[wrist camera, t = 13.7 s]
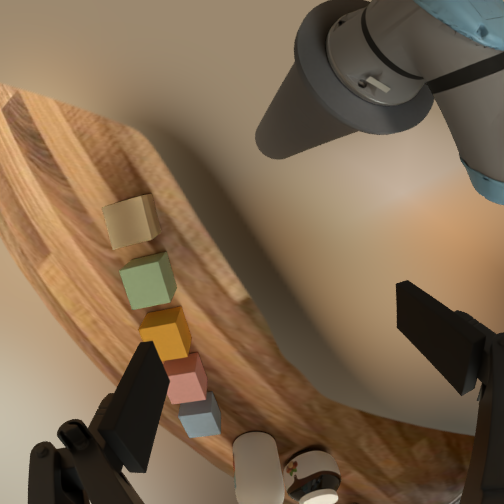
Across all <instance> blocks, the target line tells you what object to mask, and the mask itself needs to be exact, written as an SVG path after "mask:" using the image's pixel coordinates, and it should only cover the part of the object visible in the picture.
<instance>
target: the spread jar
mask: <svg viewBox="0 0 504 504" xmlns="http://www.w3.org/2000/svg"><path fill="white" fill-rule="evenodd" d="M283 477H284V483H285V488H286V491H287V493H288V495H289V496H290V497H291V498H292V499H294V500H296V501H298V502H299V504H334V503H336V502H337V500H338V496H337V493H336V491H337V489H338V488H339V486H340V483H341V474H340V471H339V468H338V466H337V463H336V461H335V459H334V458H333V457H332V456H331V455H330V454H329V453H327V452H325V451H322V450H318V449H309V450H304V451H301V452H299V453H297V454H295V455H294V456H293V457H292V458H291V459H290V460H289V461H288V462H287V464H286V466H285V468H284V472H283Z"/></svg>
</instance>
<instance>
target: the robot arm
mask: <svg viewBox="0 0 504 504" xmlns="http://www.w3.org/2000/svg"><path fill="white" fill-rule="evenodd" d="M325 52H326V57H327V61H328V64H329V66H330V68H331V70H332V72H333V73H334V75H335V76H336V78H337V79H338V80H339V82H340V83H341V84H342V85H343V86H344V87H345V88H346V89H347V90H348V91H349V92H351V93H352V94H353V95H355V96H356V97H358V98H359V99H361V100H363V101H365V102H367V103H370V104H373V105H376V106H382V107H391V106H397V105H400V104H402V103H405V102H407V101H409V100H411V99H412V98H414V97H415V96H416V94H417V93H418V92H419V90H420V89H421V87H422V86H423V85H424V84H425V82H426V83H427V85H428V87H429V88H430V90H431V92H432V94H433V96H434V98H435V100H436V102H437V104H438V106H439V108H440V110H441V112H442V114H443V116H444V118H445V120H446V122H447V125H448V127H449V129H450V131H451V134H452V136H453V139H454V141H455V143H456V146H457V148H458V151H459V155H460V160H461V162H462V163H463V165H464V166H465V168H466V170H467V172H468V175H469V177H470V180H471V182H472V184H473V186H474V188H475V189H476V191H477V192H478V193H479V194H481V195H482V196H484V197H485V198H486V199H488V200H489V201H492V202H495V203H497V204H501V205H504V2H503V0H372V1H371V2H370V4H369V5H368V6H367V7H365V8H362V9H359V10H356V11H354V12H351V13H348V14H346V15H343V16H342V17H340V18H339V19H338V20H337V21H336V22H335V23H334V24H333V26H332V27H331V29H330V30H329V32H328V34H327V37H326V41H325ZM396 300H397V328H398V329H399V330H400V331H401V332H402V333H403V334H404V335H405V336H406V337H407V338H408V339H409V340H410V341H411V343H412V344H413V345H414V346H415V347H416V348H417V349H418V350H419V351H420V352H421V353H422V354H423V355H424V356H425V357H426V358H427V359H428V360H429V361H430V362H431V363H432V365H433V366H434V367H435V368H436V369H437V370H438V371H439V372H440V373H441V374H442V375H443V376H444V377H445V379H447V381H448V382H449V383H450V384H451V385H452V386H453V387H454V388H455V389H456V391H457V392H458V393H459V394H460V395H461V396H462V395H464V394H466V393H468V392H469V391H471V390H473V389H474V388H475V385H476V381H477V378H478V379H479V380H480V381H481V382H482V385H481V388H480V392H479V395H478V398H477V401H479V410H478V419H477V426H476V433H475V439H474V445H473V451H472V456H471V461H470V465H469V470H468V474H467V478H466V482H465V486H464V490H463V493H462V497H461V500H460V504H504V333H499V334H496V333H494V332H493V331H491V330H490V329H488V328H487V327H486V326H484V325H483V324H481V323H479V322H478V321H477V320H476V319H473V317H472V316H470V315H469V314H467V313H465V312H462V311H458V310H457V311H455V312H453V311H452V310H450V309H449V308H448V307H446V306H445V305H443V304H442V303H440V302H439V301H437V300H436V299H435V298H433V297H432V296H430V295H429V294H427V293H426V292H424V291H423V290H422V289H420V288H418V287H417V286H416V285H414V284H413V283H411V282H409V281H408V280H407V281H403V282H400V283H397V284H396ZM169 384H170V379H169V377H168V375H167V373H166V371H165V368H164V366H163V364H162V361H161V359H160V357H159V354H158V352H157V350H156V347H155V345H154V342H153V341H147V342H140V344H139V345H138V347H137V349H136V351H135V353H134V355H133V357H132V359H131V361H130V363H129V365H128V367H127V369H126V371H125V373H124V375H123V377H122V378H121V380H120V382H119V384H118V386H117V389H116V391H115V393H110V394H108V395H107V396H106V397H105V398H104V399H103V400H102V402H101V403H100V405H99V409H97V411H96V413H95V414H96V415H94V418H93V419H92V421H91V423H90V425H89V427H88V428H87V427H86V425H85V424H84V423H83V422H82V420H79V419H72V420H69V421H67V422H65V423H64V424H62V425H61V427H60V428H59V430H58V432H57V436H58V438H59V439H60V440H61V442H62V443H63V444H64V445H65V448H60V449H56V448H55V447H54V446H53V445H52V444H51V442H47V441H46V442H41V443H38V444H37V445H36V446H34V448H33V449H32V451H31V454H30V464H29V481H28V504H90V502H91V503H92V504H144V502H143V501H142V500H141V499H140V497H139V495H138V494H137V493H136V491H135V490H134V488H133V487H132V485H131V484H130V483H129V481H128V480H127V478H126V477H125V475H124V474H123V473H122V472H121V470H122V467H123V465H124V466H125V467H126V468H127V470H128V471H129V472H135V473H146V471H147V466H148V462H149V458H150V454H151V450H152V446H153V443H154V439H155V435H156V431H157V427H158V424H159V420H160V416H161V412H162V409H163V405H164V401H165V398H166V394H167V391H168V387H169ZM479 399H480V400H479ZM89 500H90V502H89Z"/></svg>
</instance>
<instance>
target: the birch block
mask: <svg viewBox="0 0 504 504" xmlns="http://www.w3.org/2000/svg"><path fill="white" fill-rule="evenodd" d="M102 211H103V215H104V219H105V223H106V227H107V231H108V234H109V238H110V242H111V245H112V249H113V250H114V249H118V248H122V247H126V246H130V245H133V244H137V243H141V242H145V241H149V240H152V239H153V238H155V237H156V236H157V235H159V234H160V233H161V228H160V225H159V221H158V217H157V213H156V208H155V204H154V200H153V196H152V194H147V195H141V196H138V197H134V198H131V199H127V200H124V201H121V202H117V203H114V204H111V205H108V206H105V207H102Z"/></svg>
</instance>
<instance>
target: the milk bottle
mask: <svg viewBox="0 0 504 504" xmlns="http://www.w3.org/2000/svg"><path fill="white" fill-rule="evenodd" d="M233 466H234V482H235V493H236V497H237V501H238V503H239V504H282V503H283V500H284V483H283V477H282V472H281V466H280V461H279V456H278V451H277V446H276V442H275V440H274V438H273V437H271V436H270V435H268V434H266V433H263V432H250V433H246V434H243V435H241V436H239V437H238V438H237V439H236V440H235V442H234V443H233Z"/></svg>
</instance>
